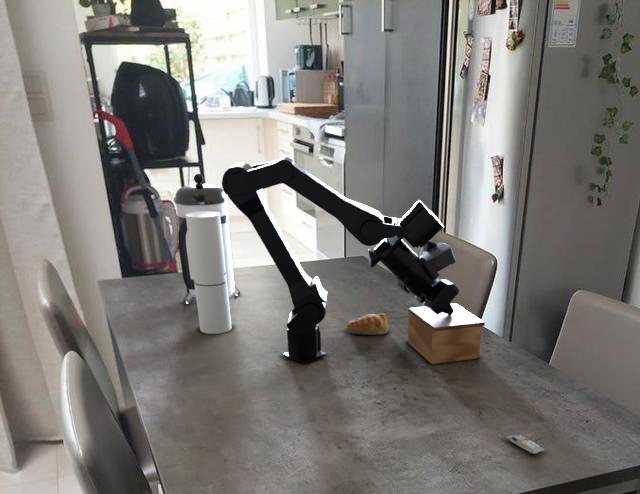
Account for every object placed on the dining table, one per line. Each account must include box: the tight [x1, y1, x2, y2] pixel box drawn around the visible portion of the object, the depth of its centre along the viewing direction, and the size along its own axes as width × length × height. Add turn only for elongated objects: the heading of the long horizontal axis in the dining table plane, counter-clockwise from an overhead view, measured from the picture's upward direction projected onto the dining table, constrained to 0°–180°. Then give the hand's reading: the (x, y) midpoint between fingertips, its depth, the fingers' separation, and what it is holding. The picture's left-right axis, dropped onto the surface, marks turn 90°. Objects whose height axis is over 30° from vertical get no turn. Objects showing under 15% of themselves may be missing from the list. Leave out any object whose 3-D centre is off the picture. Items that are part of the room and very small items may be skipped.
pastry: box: [345, 312, 389, 336], centre depth 158 cm, size 9×7×4 cm
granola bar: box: [506, 433, 545, 455], centre depth 111 cm, size 7×2×1 cm, turn 31°
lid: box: [407, 303, 486, 331], centre depth 145 cm, size 11×14×1 cm
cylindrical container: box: [186, 211, 232, 335], centre depth 154 cm, size 7×7×25 cm
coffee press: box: [173, 173, 241, 305], centre depth 171 cm, size 17×16×30 cm
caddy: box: [407, 312, 483, 365], centre depth 146 cm, size 11×14×7 cm
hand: (451, 312), depth 145 cm, fingers closed, pressing on lid
